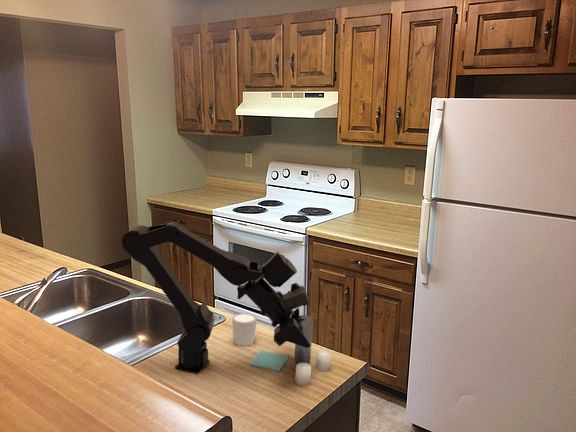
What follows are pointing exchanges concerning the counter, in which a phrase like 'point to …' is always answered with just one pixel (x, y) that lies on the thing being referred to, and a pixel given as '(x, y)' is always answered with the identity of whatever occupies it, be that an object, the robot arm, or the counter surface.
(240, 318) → the white cylinder
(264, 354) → the teal pad
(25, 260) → the counter surface
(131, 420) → the counter surface
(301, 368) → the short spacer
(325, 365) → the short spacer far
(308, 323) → the dark metallic domed cylinder
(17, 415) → the counter surface
